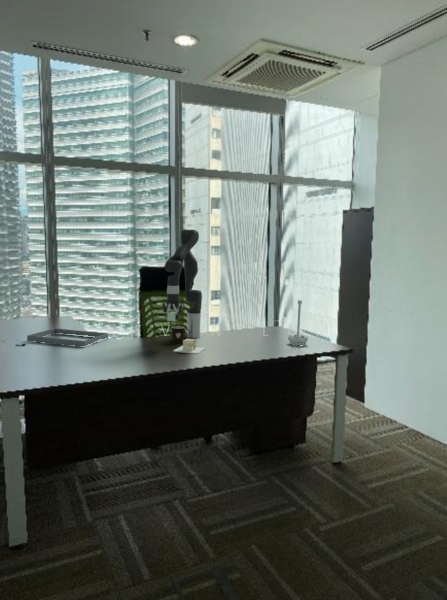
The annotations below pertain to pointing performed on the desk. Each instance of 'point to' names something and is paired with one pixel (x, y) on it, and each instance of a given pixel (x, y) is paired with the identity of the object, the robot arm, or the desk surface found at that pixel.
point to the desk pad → (196, 351)
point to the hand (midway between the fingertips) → (172, 319)
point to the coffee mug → (178, 334)
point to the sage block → (171, 316)
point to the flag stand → (296, 338)
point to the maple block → (189, 344)
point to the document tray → (39, 338)
